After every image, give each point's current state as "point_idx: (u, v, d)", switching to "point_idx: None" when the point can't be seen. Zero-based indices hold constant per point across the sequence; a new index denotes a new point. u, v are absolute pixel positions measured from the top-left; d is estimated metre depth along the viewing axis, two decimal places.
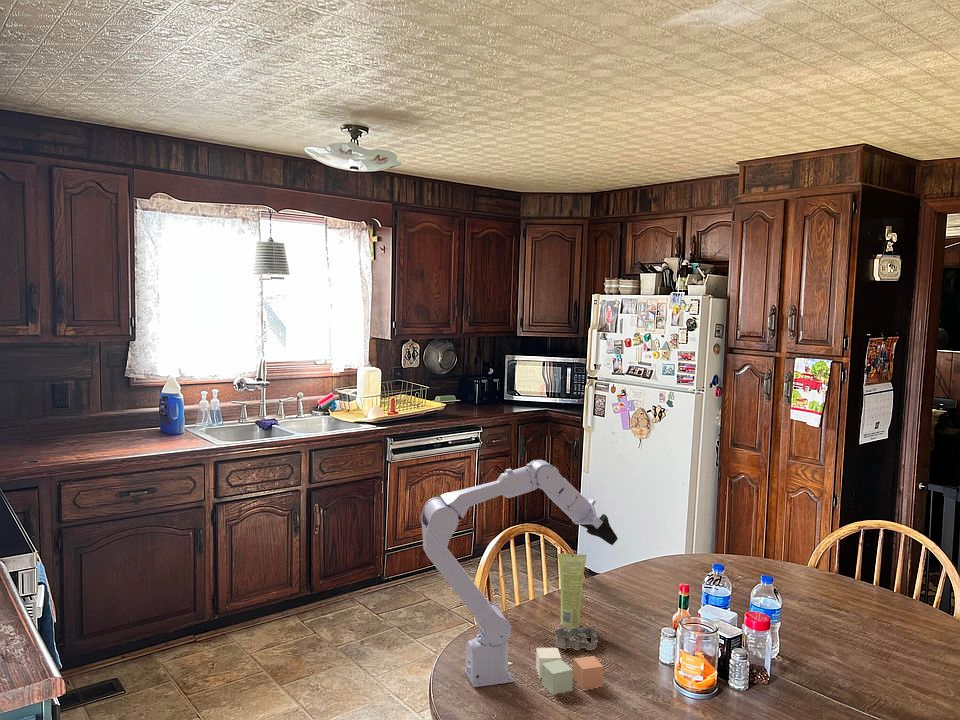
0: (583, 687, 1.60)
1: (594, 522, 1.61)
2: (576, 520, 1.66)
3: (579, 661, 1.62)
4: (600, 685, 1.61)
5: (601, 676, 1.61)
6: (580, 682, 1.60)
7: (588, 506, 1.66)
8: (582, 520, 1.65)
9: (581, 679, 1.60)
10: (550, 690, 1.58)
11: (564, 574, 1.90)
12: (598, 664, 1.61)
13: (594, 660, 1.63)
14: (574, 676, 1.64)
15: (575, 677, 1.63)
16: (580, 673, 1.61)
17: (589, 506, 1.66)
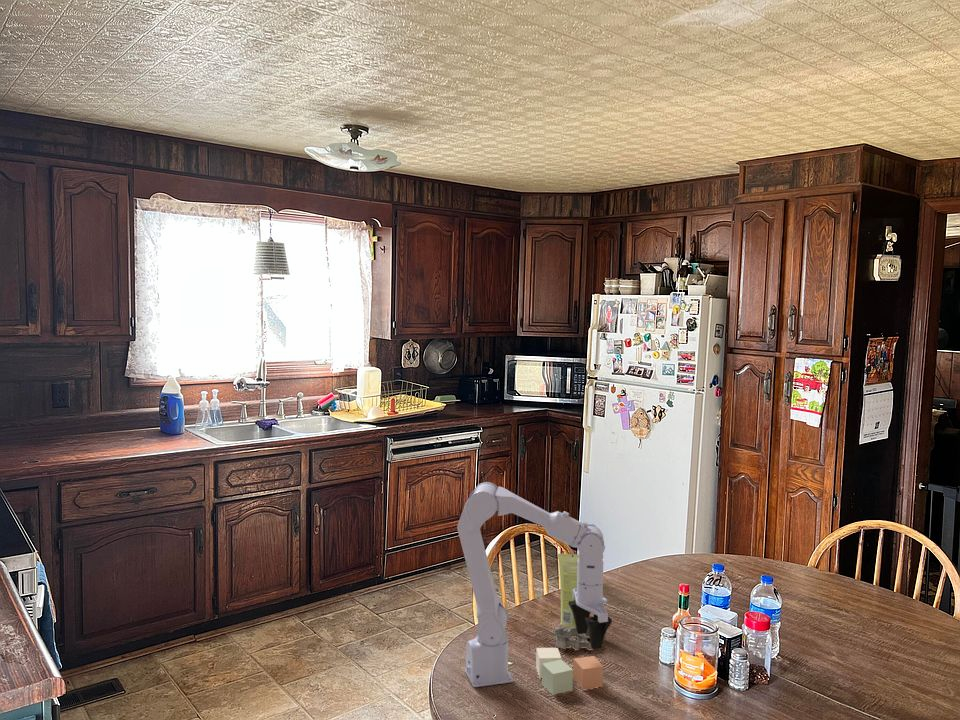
0: (583, 687, 1.60)
1: (602, 615, 1.54)
2: (582, 602, 1.59)
3: (579, 662, 1.62)
4: (600, 685, 1.61)
5: (601, 676, 1.61)
6: (580, 682, 1.60)
7: (601, 600, 1.60)
8: (588, 606, 1.58)
9: (581, 679, 1.60)
10: (550, 690, 1.58)
11: (564, 574, 1.90)
12: (598, 664, 1.61)
13: (594, 660, 1.63)
14: (574, 676, 1.64)
15: (575, 677, 1.63)
16: (580, 673, 1.61)
17: (601, 601, 1.60)
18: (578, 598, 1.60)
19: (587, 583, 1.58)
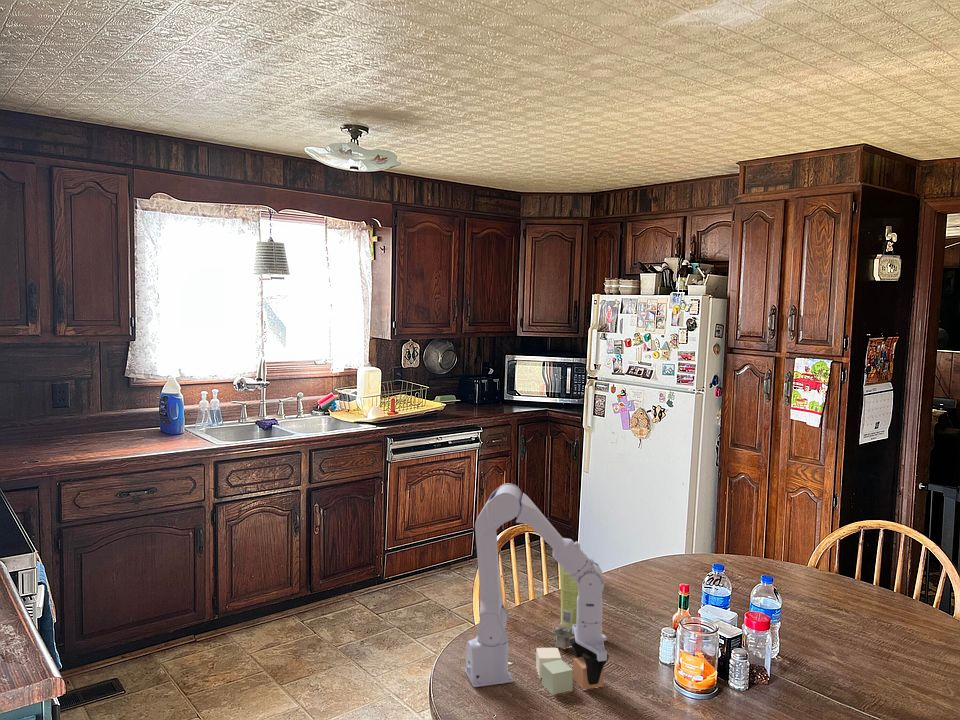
0: (583, 687, 1.60)
1: (601, 654, 1.55)
2: (581, 640, 1.60)
3: (579, 661, 1.62)
4: (600, 685, 1.61)
5: (601, 676, 1.61)
6: (580, 682, 1.60)
7: (600, 637, 1.60)
8: (587, 644, 1.59)
9: (581, 678, 1.60)
10: (550, 690, 1.58)
11: (564, 574, 1.90)
12: None
13: None
14: (574, 676, 1.64)
15: (575, 677, 1.63)
16: (580, 673, 1.61)
17: (600, 638, 1.60)
18: (577, 635, 1.61)
19: (586, 621, 1.59)
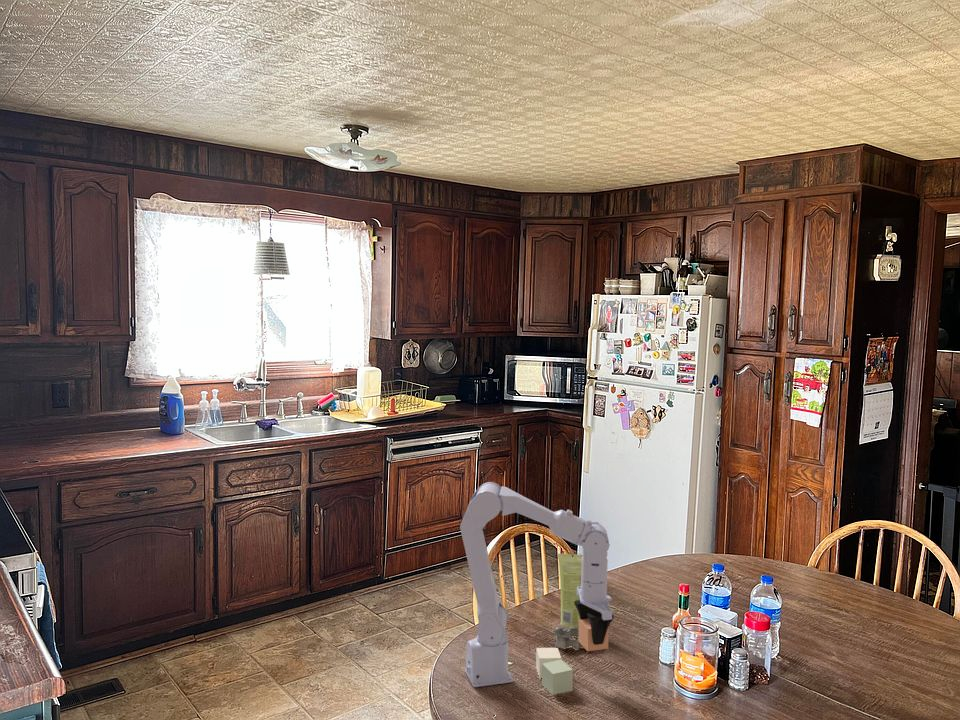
0: (588, 647, 1.59)
1: (606, 612, 1.54)
2: (586, 600, 1.59)
3: (584, 622, 1.62)
4: (605, 646, 1.60)
5: (606, 636, 1.60)
6: (586, 643, 1.60)
7: (605, 597, 1.60)
8: (592, 604, 1.59)
9: (586, 639, 1.60)
10: (550, 690, 1.58)
11: (564, 574, 1.90)
12: None
13: None
14: (579, 637, 1.63)
15: (580, 638, 1.63)
16: (585, 634, 1.60)
17: (605, 598, 1.60)
18: (582, 596, 1.61)
19: (591, 581, 1.58)
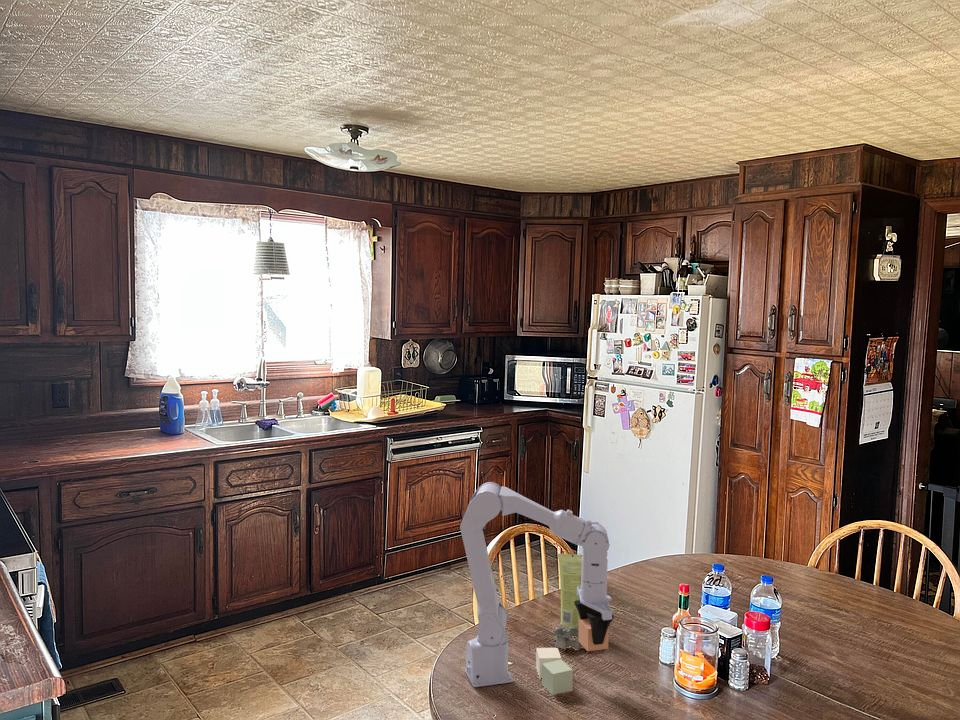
0: (588, 647, 1.59)
1: (606, 612, 1.54)
2: (586, 600, 1.59)
3: (584, 622, 1.62)
4: (605, 646, 1.60)
5: (606, 636, 1.60)
6: (586, 643, 1.60)
7: (605, 597, 1.60)
8: (592, 604, 1.59)
9: (586, 639, 1.60)
10: (550, 690, 1.58)
11: (564, 574, 1.90)
12: None
13: None
14: (579, 637, 1.63)
15: (580, 638, 1.63)
16: (585, 634, 1.60)
17: (605, 598, 1.60)
18: (582, 596, 1.61)
19: (591, 581, 1.58)
